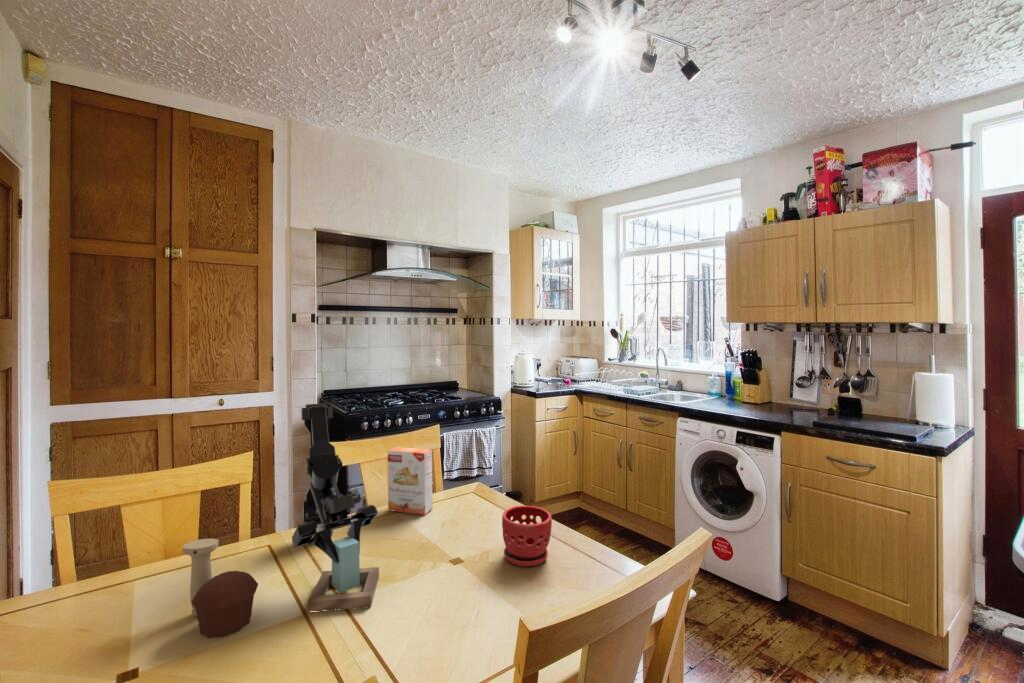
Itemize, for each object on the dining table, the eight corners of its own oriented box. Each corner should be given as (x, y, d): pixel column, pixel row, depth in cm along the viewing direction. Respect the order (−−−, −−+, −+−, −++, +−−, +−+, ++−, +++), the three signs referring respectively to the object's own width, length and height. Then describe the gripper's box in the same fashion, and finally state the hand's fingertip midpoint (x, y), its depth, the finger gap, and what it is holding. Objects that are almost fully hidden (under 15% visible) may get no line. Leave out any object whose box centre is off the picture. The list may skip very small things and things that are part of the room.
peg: (331, 585, 107) (331, 542, 107) (350, 578, 110) (350, 536, 110) (340, 593, 104) (340, 548, 103) (359, 585, 107) (359, 542, 107)
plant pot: (496, 568, 118) (496, 521, 118) (509, 545, 131) (508, 503, 131) (547, 574, 115) (547, 525, 115) (555, 550, 128) (555, 506, 128)
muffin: (240, 602, 103) (239, 558, 103) (270, 617, 98) (269, 570, 98) (180, 631, 93) (179, 582, 93) (209, 650, 88) (208, 597, 88)
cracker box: (387, 512, 157) (386, 450, 157) (396, 505, 163) (396, 446, 162) (424, 516, 153) (424, 452, 153) (433, 509, 159) (432, 448, 158)
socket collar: (307, 613, 99) (307, 601, 99) (323, 581, 112) (323, 571, 112) (370, 607, 101) (370, 596, 101) (379, 577, 114) (378, 567, 114)
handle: (212, 618, 98) (211, 547, 97) (179, 621, 97) (178, 549, 96) (223, 605, 102) (222, 537, 102) (191, 608, 101) (190, 539, 101)
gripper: (296, 489, 103) (316, 556, 95) (374, 472, 116) (397, 529, 108) (284, 515, 109) (302, 580, 101) (359, 495, 122) (380, 551, 114)
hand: (348, 558), depth 106 cm, fingers closed on peg, 4 cm apart
